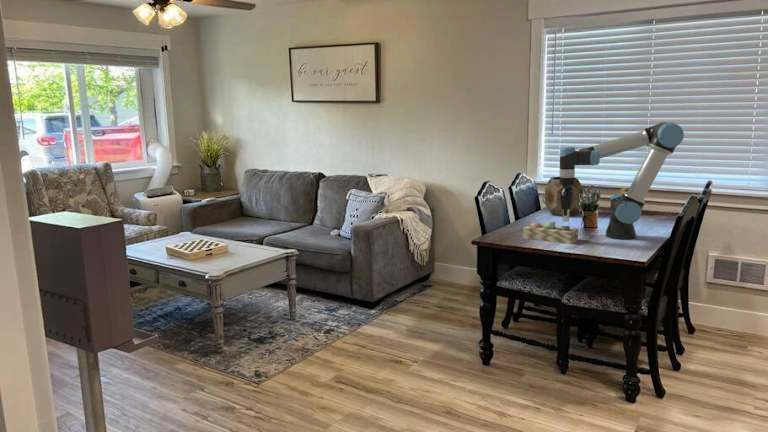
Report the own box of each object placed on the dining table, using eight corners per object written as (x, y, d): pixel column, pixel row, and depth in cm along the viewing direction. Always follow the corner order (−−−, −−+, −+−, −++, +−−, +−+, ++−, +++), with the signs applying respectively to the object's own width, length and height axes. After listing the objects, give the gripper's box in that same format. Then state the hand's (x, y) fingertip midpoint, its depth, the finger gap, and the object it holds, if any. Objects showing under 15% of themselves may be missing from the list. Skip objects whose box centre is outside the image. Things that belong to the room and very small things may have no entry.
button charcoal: (570, 233, 305) (571, 226, 304) (567, 235, 301) (568, 228, 300) (562, 232, 307) (562, 225, 307) (559, 234, 304) (559, 227, 303)
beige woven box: (577, 239, 307) (578, 228, 306) (570, 244, 297) (570, 232, 296) (531, 234, 322) (531, 223, 321) (522, 238, 313) (523, 227, 311)
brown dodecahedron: (539, 215, 376) (540, 179, 371) (553, 209, 395) (554, 175, 390) (573, 218, 362) (574, 181, 358) (585, 212, 381) (587, 176, 377)
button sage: (556, 229, 309) (556, 221, 308) (553, 230, 305) (553, 223, 305) (547, 228, 312) (548, 221, 311) (544, 229, 308) (544, 222, 307)
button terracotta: (541, 230, 314) (541, 223, 313) (538, 232, 310) (538, 224, 310) (533, 229, 317) (533, 222, 316) (530, 231, 313) (530, 224, 312)
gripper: (564, 175, 306) (563, 218, 310) (555, 178, 296) (554, 222, 300) (578, 175, 301) (577, 219, 306) (569, 178, 291) (568, 224, 296)
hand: (565, 221), depth 303 cm, fingers closed
